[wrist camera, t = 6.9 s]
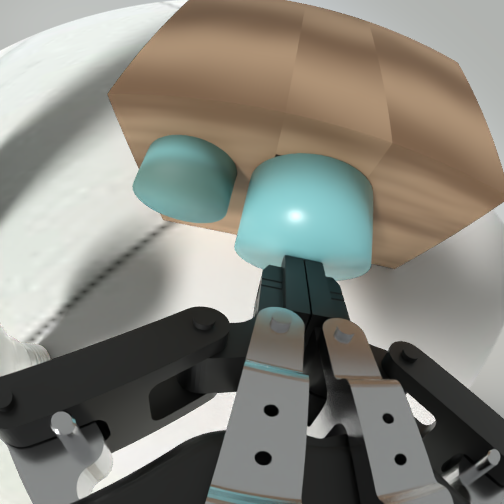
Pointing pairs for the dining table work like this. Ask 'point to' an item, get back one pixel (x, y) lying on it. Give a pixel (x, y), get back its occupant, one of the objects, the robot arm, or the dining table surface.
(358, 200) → the knob
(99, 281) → the dining table surface
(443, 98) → the mount
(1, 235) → the dining table surface
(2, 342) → the lightbulb
